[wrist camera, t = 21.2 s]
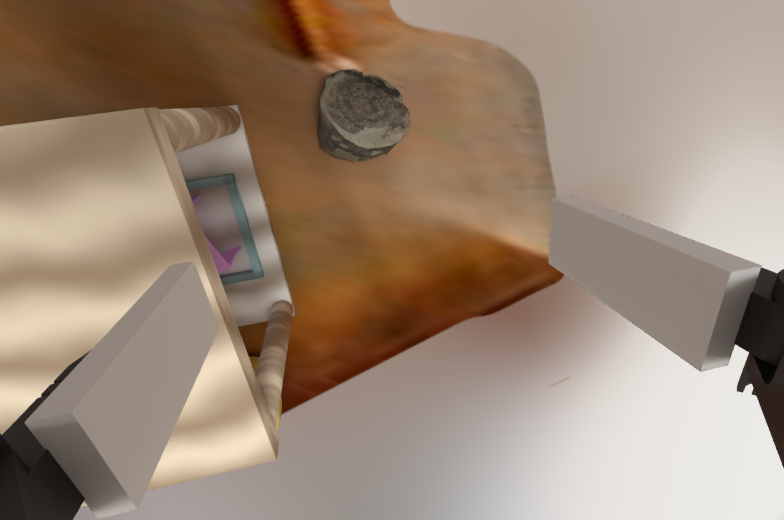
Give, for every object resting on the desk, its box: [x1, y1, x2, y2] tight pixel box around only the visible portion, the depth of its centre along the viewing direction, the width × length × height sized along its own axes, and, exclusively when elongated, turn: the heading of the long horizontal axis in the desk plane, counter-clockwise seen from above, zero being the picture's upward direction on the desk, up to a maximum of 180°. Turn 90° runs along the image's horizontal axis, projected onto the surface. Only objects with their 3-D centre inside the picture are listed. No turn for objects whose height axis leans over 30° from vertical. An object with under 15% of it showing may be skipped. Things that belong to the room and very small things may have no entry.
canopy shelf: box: [0, 105, 295, 507], centre depth 36 cm, size 29×18×25 cm, turn 7°
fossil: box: [318, 70, 410, 162], centre depth 43 cm, size 11×9×10 cm
